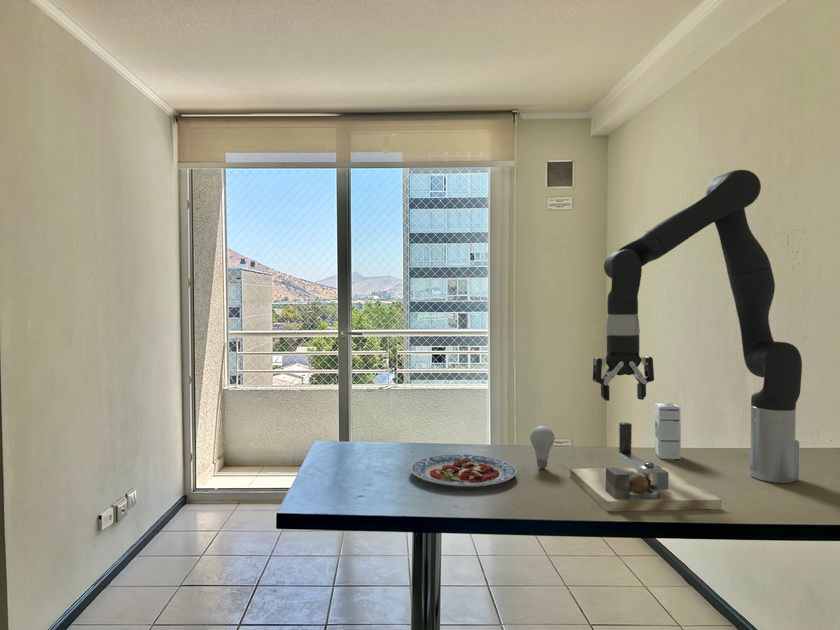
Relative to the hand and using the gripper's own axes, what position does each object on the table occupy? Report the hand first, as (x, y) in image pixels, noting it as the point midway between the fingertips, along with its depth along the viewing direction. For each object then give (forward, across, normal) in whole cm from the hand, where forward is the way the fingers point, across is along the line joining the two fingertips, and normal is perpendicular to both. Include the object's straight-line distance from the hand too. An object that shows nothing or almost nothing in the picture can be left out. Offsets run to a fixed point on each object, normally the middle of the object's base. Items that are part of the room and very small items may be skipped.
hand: (623, 399), depth 137 cm
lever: (+16, 0, +9) cm, 18 cm away
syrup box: (+20, -20, -18) cm, 33 cm away
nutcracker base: (+19, +1, +11) cm, 22 cm away
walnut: (+17, +4, +18) cm, 25 cm away
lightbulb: (+19, +18, -8) cm, 27 cm away
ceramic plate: (+19, +39, -3) cm, 43 cm away
